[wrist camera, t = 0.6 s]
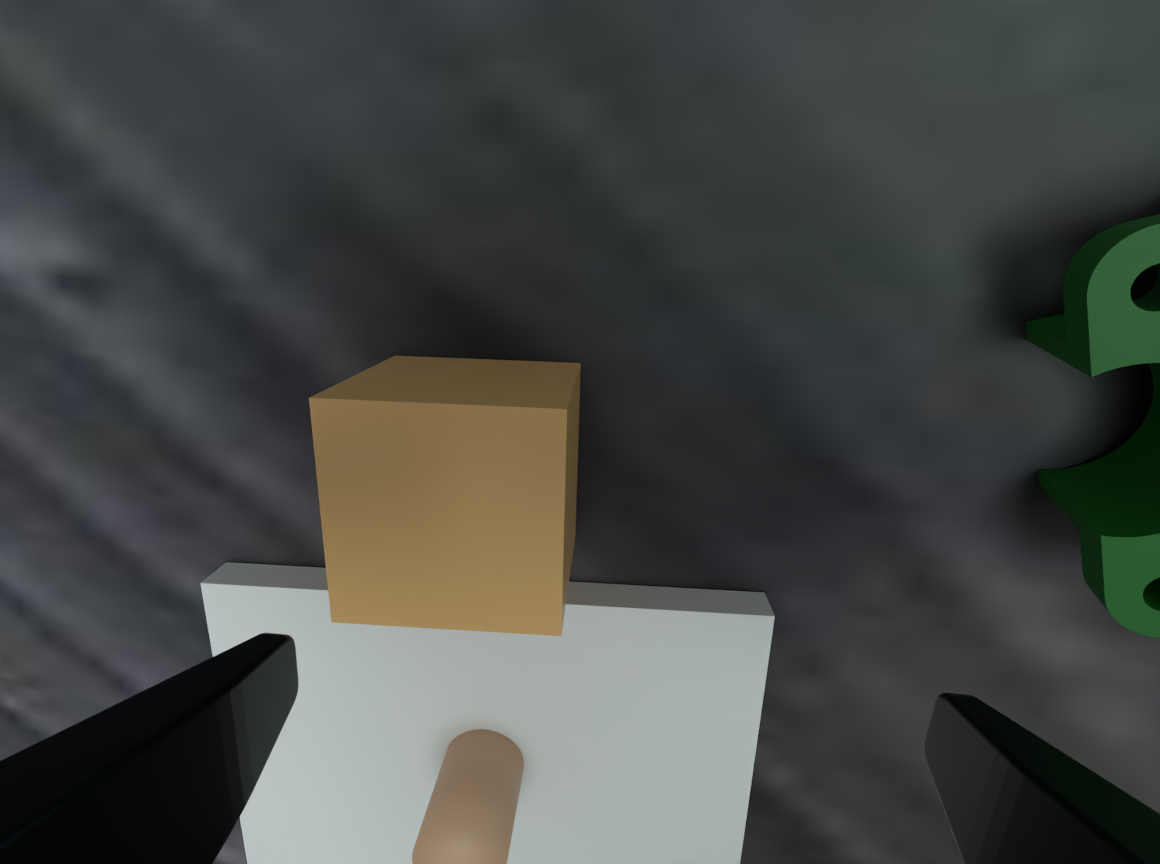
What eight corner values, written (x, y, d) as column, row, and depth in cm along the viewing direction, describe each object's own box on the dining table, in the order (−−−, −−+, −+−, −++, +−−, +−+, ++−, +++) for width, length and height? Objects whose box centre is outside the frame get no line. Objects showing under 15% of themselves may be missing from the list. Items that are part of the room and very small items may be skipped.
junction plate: (725, 880, 26) (753, 1039, 21) (269, 845, 27) (186, 989, 22) (764, 592, 22) (810, 699, 17) (226, 562, 23) (111, 655, 18)
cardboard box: (575, 534, 22) (561, 635, 16) (404, 525, 22) (331, 622, 17) (580, 363, 20) (567, 409, 14) (394, 355, 20) (309, 398, 15)
